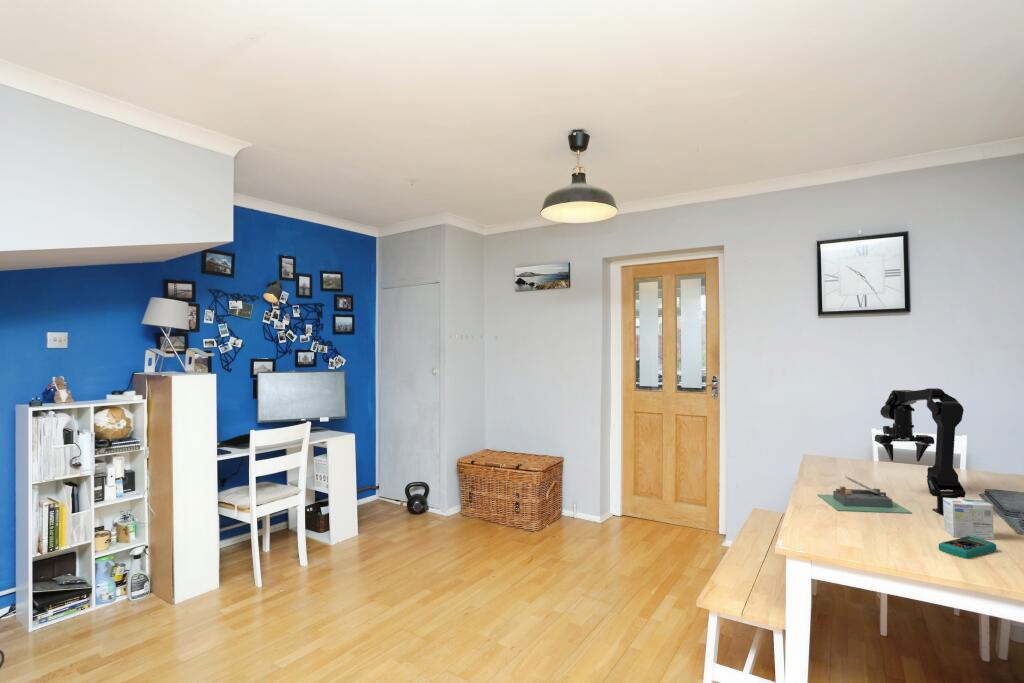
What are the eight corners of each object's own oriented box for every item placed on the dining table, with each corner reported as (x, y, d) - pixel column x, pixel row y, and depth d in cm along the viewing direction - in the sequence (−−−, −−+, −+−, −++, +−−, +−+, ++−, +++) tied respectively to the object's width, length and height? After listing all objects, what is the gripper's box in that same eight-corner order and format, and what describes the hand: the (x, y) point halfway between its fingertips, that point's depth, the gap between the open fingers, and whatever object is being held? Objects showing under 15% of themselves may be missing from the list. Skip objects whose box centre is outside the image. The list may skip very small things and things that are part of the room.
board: (912, 513, 188) (912, 512, 188) (837, 510, 193) (837, 509, 193) (884, 497, 207) (884, 496, 207) (817, 495, 212) (817, 494, 212)
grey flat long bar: (878, 494, 198) (879, 493, 198) (847, 479, 200) (848, 477, 200) (874, 492, 201) (876, 490, 200) (844, 477, 203) (845, 475, 203)
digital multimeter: (936, 551, 156) (936, 541, 156) (968, 543, 161) (968, 534, 161) (965, 561, 149) (965, 550, 149) (997, 552, 154) (997, 542, 154)
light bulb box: (982, 532, 169) (981, 498, 169) (995, 540, 162) (994, 504, 162) (942, 530, 172) (941, 496, 172) (953, 537, 165) (952, 502, 165)
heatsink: (892, 507, 194) (892, 493, 194) (844, 506, 197) (843, 492, 197) (879, 499, 203) (878, 486, 203) (833, 498, 207) (833, 484, 207)
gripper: (919, 419, 217) (920, 457, 217) (867, 419, 221) (869, 456, 221) (934, 422, 206) (936, 463, 206) (880, 422, 210) (882, 462, 210)
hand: (904, 461), depth 211 cm, fingers open, 9 cm apart
